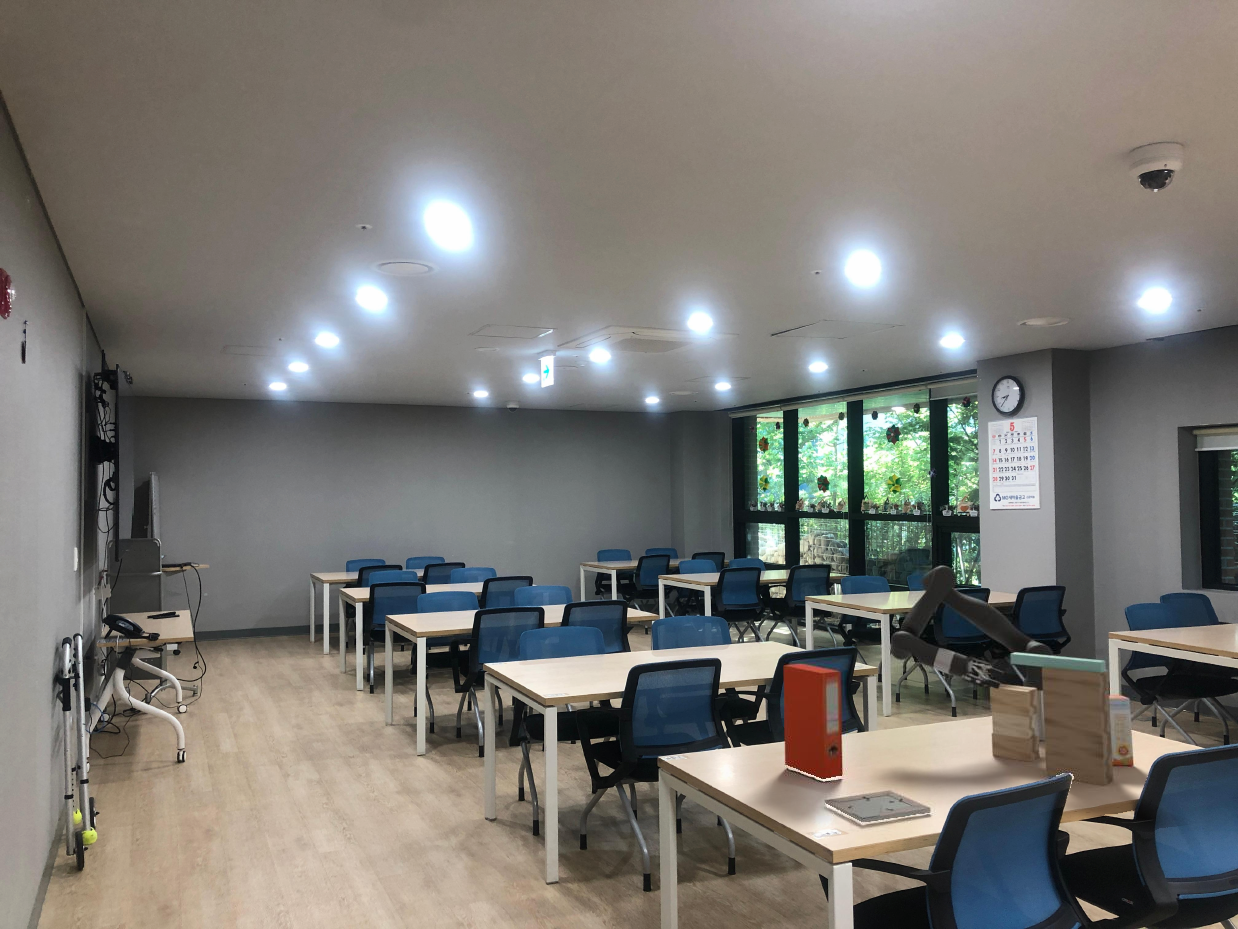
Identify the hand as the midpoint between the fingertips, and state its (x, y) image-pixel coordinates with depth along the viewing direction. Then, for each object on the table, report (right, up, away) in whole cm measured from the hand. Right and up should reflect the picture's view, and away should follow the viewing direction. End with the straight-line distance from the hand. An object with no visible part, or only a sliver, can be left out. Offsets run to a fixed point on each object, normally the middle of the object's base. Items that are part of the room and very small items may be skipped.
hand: (1001, 680), depth 287 cm
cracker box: (+29, -24, -9) cm, 39 cm away
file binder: (-65, -25, -17) cm, 72 cm away
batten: (+9, +9, -19) cm, 22 cm away
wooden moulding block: (+13, -23, -24) cm, 36 cm away
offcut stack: (+5, -25, 0) cm, 25 cm away
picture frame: (-56, -23, -52) cm, 80 cm away
